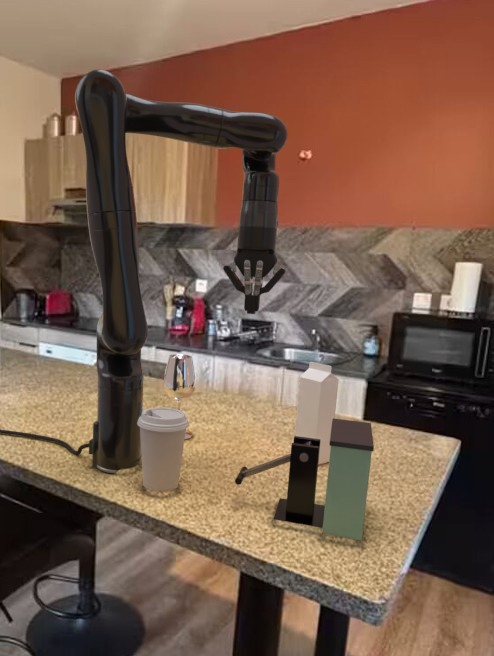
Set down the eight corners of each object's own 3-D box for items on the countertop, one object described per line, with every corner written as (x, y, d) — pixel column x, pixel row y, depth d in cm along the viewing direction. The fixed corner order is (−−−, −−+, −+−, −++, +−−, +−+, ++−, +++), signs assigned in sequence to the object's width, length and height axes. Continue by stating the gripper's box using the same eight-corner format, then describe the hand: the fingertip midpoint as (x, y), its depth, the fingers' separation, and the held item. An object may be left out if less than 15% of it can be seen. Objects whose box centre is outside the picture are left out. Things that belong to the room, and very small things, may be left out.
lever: (238, 489, 94) (232, 476, 94) (244, 476, 100) (238, 464, 100) (315, 461, 90) (308, 448, 89) (317, 450, 95) (311, 437, 95)
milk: (313, 466, 120) (322, 367, 116) (292, 458, 125) (300, 362, 121) (331, 461, 124) (340, 364, 120) (309, 453, 128) (318, 360, 124)
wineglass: (196, 433, 140) (200, 355, 136) (187, 442, 132) (191, 360, 129) (167, 428, 142) (170, 352, 139) (156, 437, 135) (159, 356, 131)
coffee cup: (134, 479, 108) (137, 405, 106) (183, 480, 109) (186, 406, 107) (135, 500, 99) (137, 420, 96) (188, 500, 100) (192, 421, 97)
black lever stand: (272, 525, 92) (278, 446, 89) (279, 504, 100) (285, 431, 98) (322, 534, 90) (330, 453, 87) (324, 511, 98) (331, 437, 96)
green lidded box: (320, 540, 88) (329, 440, 85) (324, 506, 100) (332, 418, 97) (362, 548, 86) (373, 446, 83) (361, 512, 98) (370, 422, 95)
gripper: (220, 223, 107) (215, 312, 110) (289, 225, 104) (282, 317, 107) (228, 226, 114) (223, 310, 117) (293, 228, 111) (286, 314, 114)
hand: (251, 313), depth 112 cm, fingers closed
